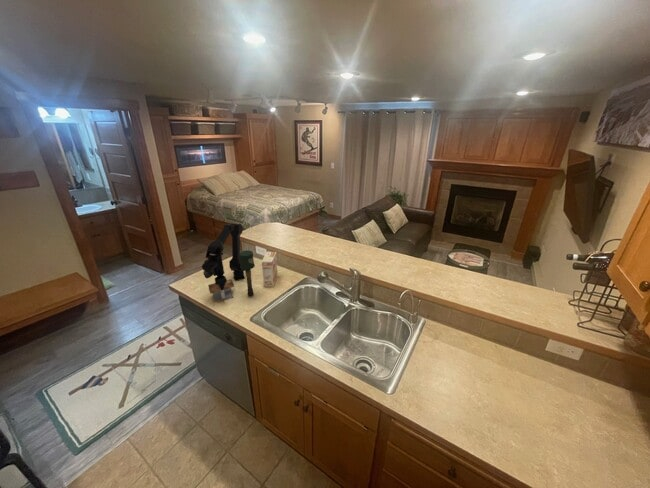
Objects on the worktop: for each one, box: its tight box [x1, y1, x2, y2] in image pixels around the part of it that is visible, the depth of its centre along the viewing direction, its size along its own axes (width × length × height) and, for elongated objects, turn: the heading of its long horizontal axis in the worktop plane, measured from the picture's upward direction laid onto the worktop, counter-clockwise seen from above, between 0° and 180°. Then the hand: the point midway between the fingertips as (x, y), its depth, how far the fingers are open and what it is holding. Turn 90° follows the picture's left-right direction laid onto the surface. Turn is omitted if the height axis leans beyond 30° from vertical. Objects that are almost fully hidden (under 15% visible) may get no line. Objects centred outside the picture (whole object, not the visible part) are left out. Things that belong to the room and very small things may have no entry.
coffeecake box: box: [261, 251, 279, 288], centre depth 177 cm, size 15×7×20 cm, turn 179°
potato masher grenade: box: [239, 250, 256, 297], centre depth 159 cm, size 8×9×30 cm
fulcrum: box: [212, 288, 234, 303], centre depth 165 cm, size 11×12×4 cm
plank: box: [208, 278, 235, 294], centre depth 163 cm, size 14×4×4 cm, turn 123°
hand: (221, 286), depth 163 cm, fingers open, 9 cm apart
